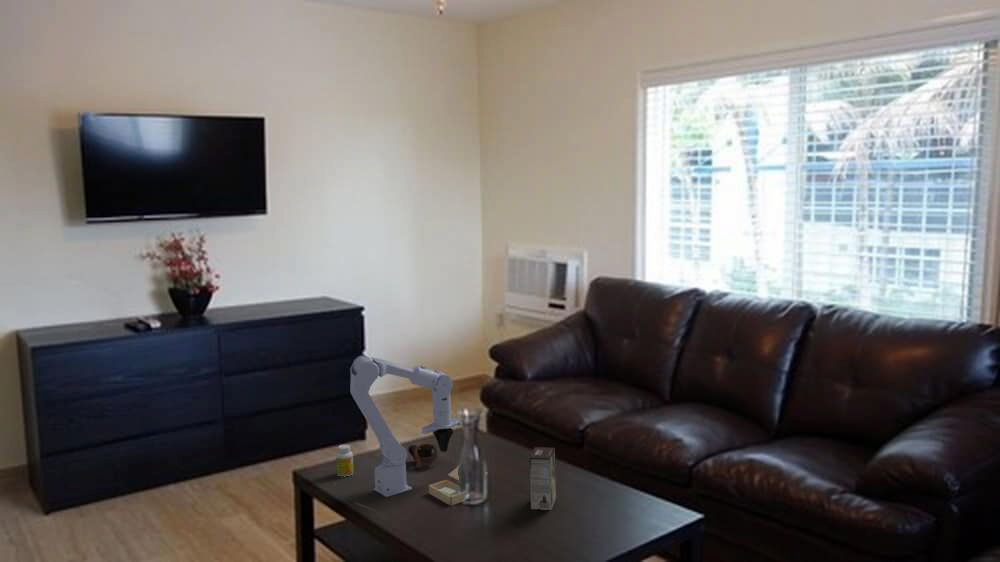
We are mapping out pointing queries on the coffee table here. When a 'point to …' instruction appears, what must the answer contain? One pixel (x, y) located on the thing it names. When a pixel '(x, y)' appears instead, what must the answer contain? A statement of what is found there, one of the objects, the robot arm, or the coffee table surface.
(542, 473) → the coffee box
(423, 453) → the pottery mug
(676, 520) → the coffee table surface
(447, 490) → the soap
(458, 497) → the mailer box
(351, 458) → the supplement bottle
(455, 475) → the lid
